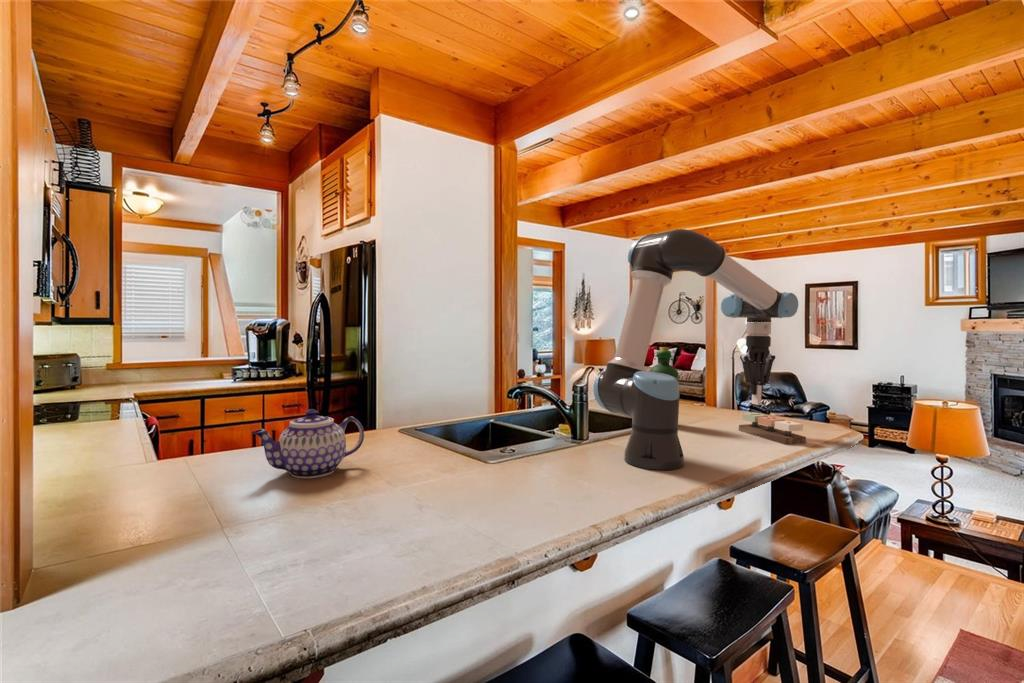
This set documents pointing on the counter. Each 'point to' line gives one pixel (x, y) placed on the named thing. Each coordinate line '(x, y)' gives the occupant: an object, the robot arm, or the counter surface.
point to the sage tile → (753, 418)
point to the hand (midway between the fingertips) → (756, 404)
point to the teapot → (309, 445)
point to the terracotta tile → (769, 422)
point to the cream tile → (788, 427)
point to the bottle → (665, 363)
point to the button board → (772, 434)
